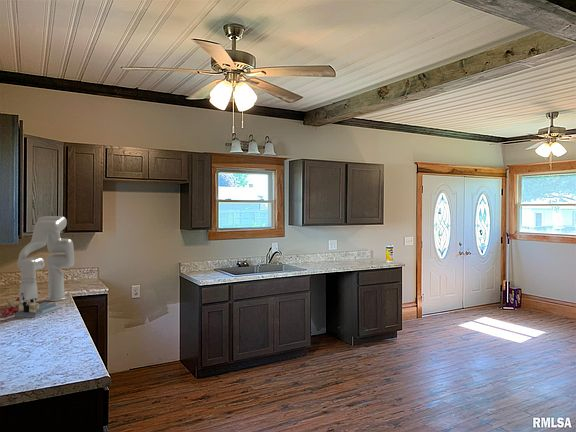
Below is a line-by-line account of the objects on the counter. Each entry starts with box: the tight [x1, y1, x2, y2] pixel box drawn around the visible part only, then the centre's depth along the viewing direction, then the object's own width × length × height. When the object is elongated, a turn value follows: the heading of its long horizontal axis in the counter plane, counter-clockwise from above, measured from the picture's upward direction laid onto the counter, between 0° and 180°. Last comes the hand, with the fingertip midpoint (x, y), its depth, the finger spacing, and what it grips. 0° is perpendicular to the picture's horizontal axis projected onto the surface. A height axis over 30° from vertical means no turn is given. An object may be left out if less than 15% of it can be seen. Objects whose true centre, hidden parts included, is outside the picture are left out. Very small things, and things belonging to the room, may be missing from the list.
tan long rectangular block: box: [18, 301, 40, 312], centre depth 257 cm, size 4×10×4 cm, turn 81°
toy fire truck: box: [0, 296, 20, 318], centre depth 260 cm, size 3×14×10 cm, turn 168°
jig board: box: [14, 301, 63, 318], centre depth 266 cm, size 23×14×4 cm, turn 171°
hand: (29, 310), depth 257 cm, fingers closed on tan long rectangular block, 3 cm apart
